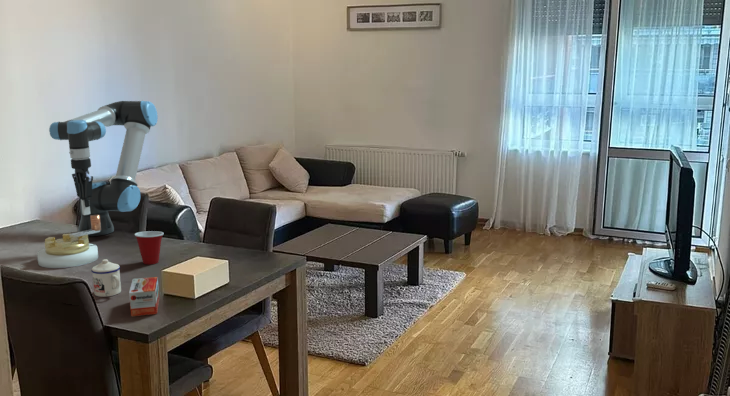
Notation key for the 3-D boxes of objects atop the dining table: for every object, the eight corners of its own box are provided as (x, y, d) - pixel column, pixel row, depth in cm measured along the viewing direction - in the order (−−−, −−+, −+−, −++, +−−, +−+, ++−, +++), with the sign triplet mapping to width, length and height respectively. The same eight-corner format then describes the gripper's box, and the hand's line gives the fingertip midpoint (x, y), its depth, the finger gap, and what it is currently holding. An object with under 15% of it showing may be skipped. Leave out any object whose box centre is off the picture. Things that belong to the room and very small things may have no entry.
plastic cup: (171, 259, 276) (169, 230, 274) (154, 267, 266) (152, 237, 264) (148, 257, 280) (145, 228, 278) (130, 265, 270) (128, 234, 268)
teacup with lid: (88, 293, 238) (85, 260, 235) (112, 286, 244) (110, 254, 242) (107, 301, 230) (104, 267, 228) (132, 293, 237) (129, 260, 235)
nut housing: (94, 249, 292) (93, 239, 291) (102, 262, 273) (101, 252, 272) (36, 257, 282) (35, 247, 281) (40, 271, 263) (39, 260, 262)
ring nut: (58, 257, 266) (55, 228, 263) (37, 251, 275) (34, 222, 273) (112, 244, 283) (110, 217, 281) (90, 238, 293) (88, 212, 291)
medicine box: (134, 301, 230) (132, 278, 229) (159, 299, 232) (158, 275, 230) (130, 317, 216) (128, 292, 214) (157, 315, 218) (156, 290, 216)
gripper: (63, 158, 287) (70, 213, 292) (79, 161, 279) (86, 218, 284) (81, 155, 292) (87, 210, 298) (97, 158, 284) (103, 214, 290)
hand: (86, 214), depth 291 cm, fingers closed
